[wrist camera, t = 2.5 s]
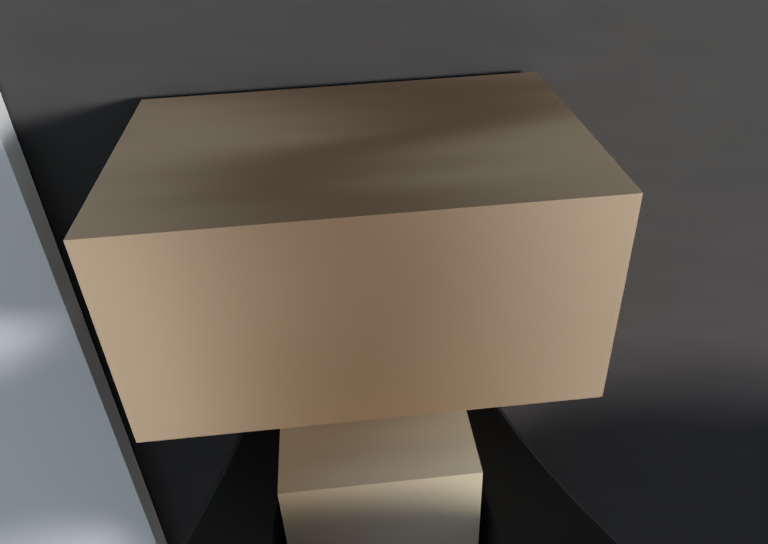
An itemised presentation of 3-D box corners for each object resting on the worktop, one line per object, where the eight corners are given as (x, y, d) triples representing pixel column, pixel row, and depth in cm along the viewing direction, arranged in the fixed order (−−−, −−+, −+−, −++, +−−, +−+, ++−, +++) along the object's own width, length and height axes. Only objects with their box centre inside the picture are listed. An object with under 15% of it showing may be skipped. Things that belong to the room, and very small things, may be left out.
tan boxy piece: (536, 71, 10) (687, 243, 6) (491, 572, 18) (546, 796, 14) (141, 99, 10) (29, 299, 6) (266, 597, 18) (254, 835, 14)
